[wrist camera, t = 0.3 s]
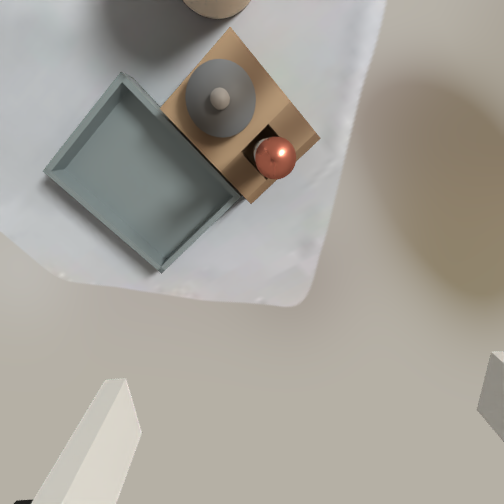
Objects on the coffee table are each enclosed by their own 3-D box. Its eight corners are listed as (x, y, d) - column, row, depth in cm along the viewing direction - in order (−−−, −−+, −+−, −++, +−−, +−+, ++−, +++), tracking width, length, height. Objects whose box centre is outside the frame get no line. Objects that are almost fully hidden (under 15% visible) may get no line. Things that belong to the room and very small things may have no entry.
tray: (59, 168, 34) (42, 171, 31) (132, 78, 30) (120, 71, 28) (168, 263, 38) (161, 273, 35) (241, 192, 35) (241, 196, 32)
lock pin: (248, 151, 32) (246, 157, 19) (265, 133, 31) (277, 127, 18) (264, 169, 33) (274, 187, 20) (282, 151, 32) (304, 159, 19)
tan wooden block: (173, 113, 32) (151, 105, 25) (233, 44, 30) (228, 15, 23) (250, 195, 35) (251, 208, 28) (310, 138, 33) (326, 138, 26)
